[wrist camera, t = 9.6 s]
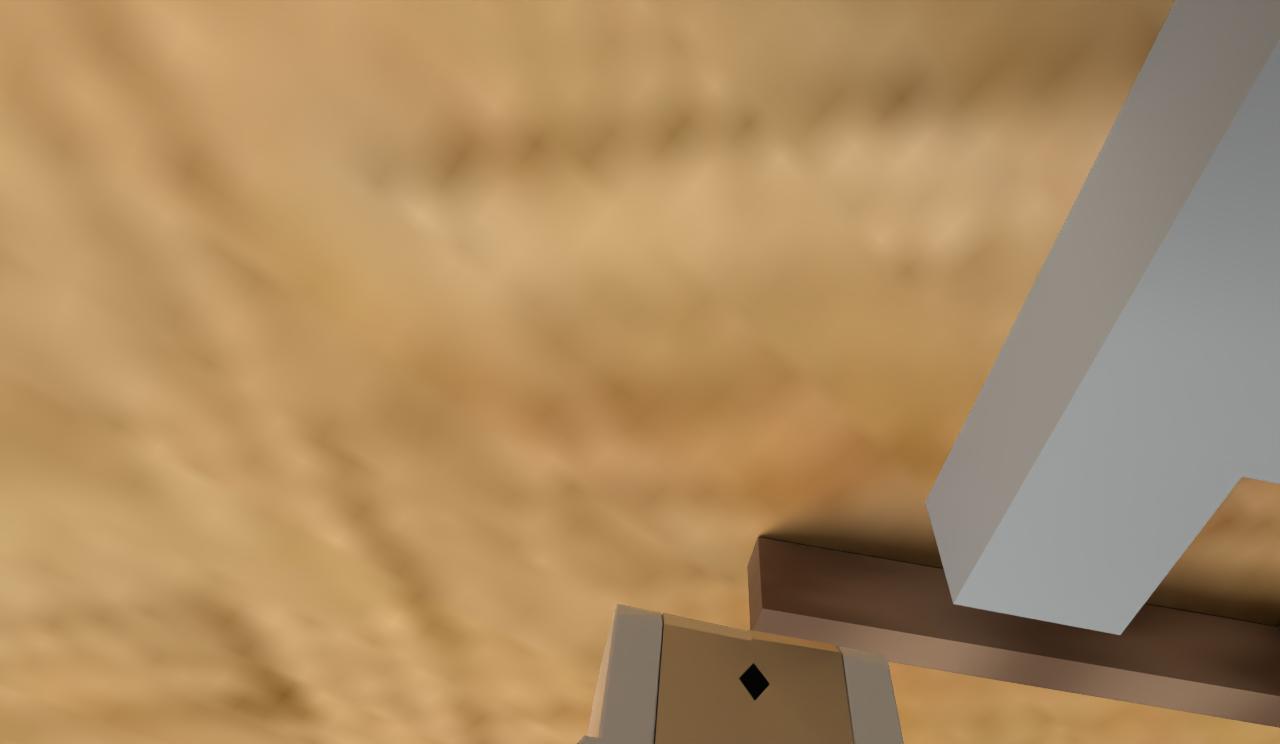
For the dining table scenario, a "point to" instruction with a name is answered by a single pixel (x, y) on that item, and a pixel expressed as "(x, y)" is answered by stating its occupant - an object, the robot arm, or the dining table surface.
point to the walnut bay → (1014, 635)
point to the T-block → (1135, 346)
